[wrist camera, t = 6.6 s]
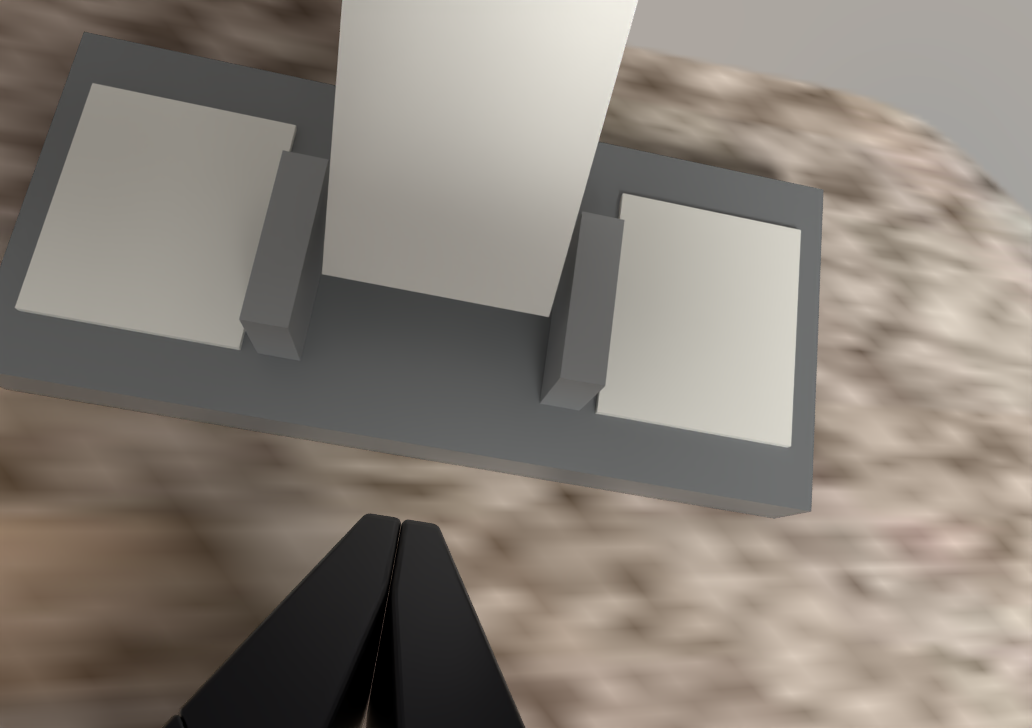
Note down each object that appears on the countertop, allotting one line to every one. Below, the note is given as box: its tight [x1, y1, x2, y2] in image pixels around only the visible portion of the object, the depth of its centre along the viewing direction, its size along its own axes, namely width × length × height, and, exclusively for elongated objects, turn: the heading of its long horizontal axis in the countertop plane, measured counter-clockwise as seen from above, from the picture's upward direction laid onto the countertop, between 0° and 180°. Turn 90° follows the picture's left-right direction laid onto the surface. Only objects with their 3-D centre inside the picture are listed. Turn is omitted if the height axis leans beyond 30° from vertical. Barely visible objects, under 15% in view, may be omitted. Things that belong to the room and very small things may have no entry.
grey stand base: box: [0, 32, 823, 518], centre depth 20 cm, size 9×20×4 cm, turn 82°
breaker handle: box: [322, 0, 638, 317], centre depth 16 cm, size 2×5×8 cm
